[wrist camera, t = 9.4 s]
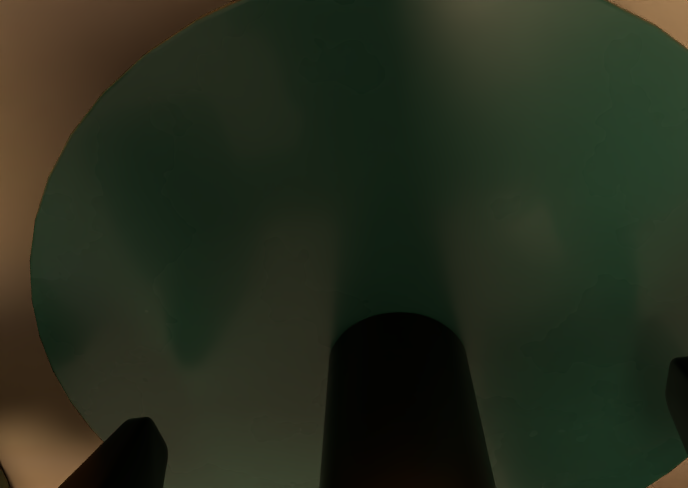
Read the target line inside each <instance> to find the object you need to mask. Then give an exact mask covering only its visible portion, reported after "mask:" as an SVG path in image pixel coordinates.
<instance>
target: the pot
mask: <svg viewBox="0 0 688 488" xmlns="http://www.w3.org/2000/svg"><path fill="white" fill-rule="evenodd" d="M0 488H9V485H8V481H7V479H6V477H5V475H4V473H3V471H2V470H1V468H0Z"/></svg>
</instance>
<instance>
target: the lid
mask: <svg viewBox="0 0 688 488" xmlns="http://www.w3.org/2000/svg"><path fill="white" fill-rule="evenodd" d="M30 274H31V295H32V304H33V308H34V313H35V317H36V322H37V327H38V331H39V336H40V339H41V341H42V344H43V346H44V349H45V352H46V354H47V357H48V359H49V362H50V364H51V367H52V370H53V372H54V373H55V375H56V377H57V379H58V380H59V382H60V384H61V386H62V388H63V389H64V391H65V393H66V395H67V396H68V398H69V400H70V402H71V403H72V404H73V406H74V407H75V408H76V409H77V411H78V412H79V413H80V415H81V416H82V417H83V419H84V420H85V421H86V423H87V424H88V425H89V427H90V428H91V429H92V430H93V431H94V432H95V433H96V434H97V436H98V437H99V438H100V439H101V440H102V441H103V442H105V441H106V440H107V439H108V438H109V437H110V436H111V435H112V434H113V433H114V432H115V431H116V430H117V429H118V428H119V427H120V426H121V425H122V424H123V423H124V422H125V421H126V420H128V419H131V418H140V417H149V418H151V419H152V420H153V421H154V423H155V425H156V426H157V428H158V430H159V432H160V434H161V435H162V437H163V439H164V441H165V442H166V445H167V448H168V461H167V467H166V473H165V480H164V486H163V488H646V487H648V486H649V485H651V484H652V483H654V482H655V481H657V480H658V479H660V478H661V477H663V476H664V475H666V474H667V473H669V472H670V471H672V470H673V469H674V468H675V467H677V466H678V465H679V464H680V463H681V462H683V461H684V460H685V459H686V458H688V455H687V453H686V450H685V448H684V446H683V443H682V441H681V438H680V436H679V433H678V431H677V429H676V426H675V424H674V421H673V419H672V416H671V414H670V412H669V409H668V407H667V403H666V399H665V390H666V384H667V378H668V371H669V365H670V362H671V361H672V359H674V358H676V357H685V356H688V49H687V48H686V47H685V46H683V45H682V44H681V43H679V42H678V41H677V40H675V39H674V38H673V37H671V36H670V35H669V34H667V33H666V32H665V31H663V30H662V29H660V28H659V27H658V26H656V25H655V24H653V23H651V22H649V21H647V20H645V19H643V18H641V17H639V16H637V15H635V14H633V13H631V12H629V11H627V10H625V9H623V8H621V7H619V6H617V5H615V4H613V3H611V2H609V1H607V0H234V1H232V2H230V3H228V4H226V5H223V6H221V7H219V8H217V9H215V10H213V11H210V12H208V13H206V14H204V15H202V16H201V17H199V18H198V19H196V20H195V21H193V22H191V23H190V24H188V25H187V26H185V27H184V28H182V29H181V30H179V31H178V32H176V33H175V34H173V35H172V36H170V37H169V38H167V39H166V40H164V41H163V42H161V43H160V44H158V45H157V46H155V47H154V48H152V49H151V50H150V51H148V52H147V53H145V54H144V55H143V56H142V57H141V58H140V59H139V60H138V61H136V62H135V63H134V64H133V65H132V66H131V67H130V68H129V69H128V70H127V71H126V72H125V73H123V74H122V75H121V76H120V77H119V78H118V79H117V80H116V81H115V82H114V83H113V84H112V85H110V86H109V87H108V88H107V89H106V90H105V91H104V92H103V93H102V94H101V96H100V97H99V98H98V99H97V101H96V102H95V103H94V105H93V106H92V107H91V108H90V110H89V111H88V112H87V114H86V115H85V116H84V118H83V119H82V120H81V121H80V123H79V124H78V125H77V127H76V128H75V129H74V130H73V132H72V133H71V135H70V137H69V138H68V140H67V142H66V144H65V146H64V148H63V150H62V152H61V154H60V156H59V157H58V159H57V161H56V163H55V165H54V167H53V169H52V171H51V173H50V175H49V177H48V180H47V183H46V186H45V189H44V193H43V196H42V199H41V202H40V205H39V208H38V212H37V215H36V218H35V225H34V233H33V241H32V248H31V256H30Z"/></svg>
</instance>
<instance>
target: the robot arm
mask: <svg viewBox="0 0 688 488" xmlns="http://www.w3.org/2000/svg"><path fill="white" fill-rule="evenodd" d="M665 399H666V403H667V407H668V409H669V412H670V414H671V416H672V419H673V421H674V424H675V426H676V429H677V431H678V433H679V436H680V438H681V441H682V443H683V446H684V448H685V450H686V453H687V455H688V356H685V357H676V358H674V359H672V361H671V362H670V365H669V371H668V378H667V384H666V390H665ZM167 461H168V448H167V445H166V442H165V441H164V439H163V437H162V435H161V434H160V432H159V430H158V428H157V426H156V425H155V423H154V421H153V420H152V419H151V418H149V417H140V418H131V419H128V420H126V421H125V422H124V423H123V424H122V425H121V426H120V427H119V428H118V429H117V430H116V431H115V432H114V433H113V434H112V435H111V436H110V437H109V438H108V439H107V440H106V441H105V442H104V443H103V444H101V445H100V446H99V447H98V448H97V449H96V450H95V451H94V452H93V453H92V454H91V455H90V456H89V457H88V458H87V459H86V460H85V461H84V462H83V463H82V464H81V465H80V466H79V467H78V468H77V469H76V470H75V471H74V472H73V473H72V474H71V475H70V476H69V477H68V478H67V479H66V480H65V481H64V482H63V483H62V484H61V485H60V486H59V487H58V488H163V486H164V480H165V473H166V467H167Z"/></svg>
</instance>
